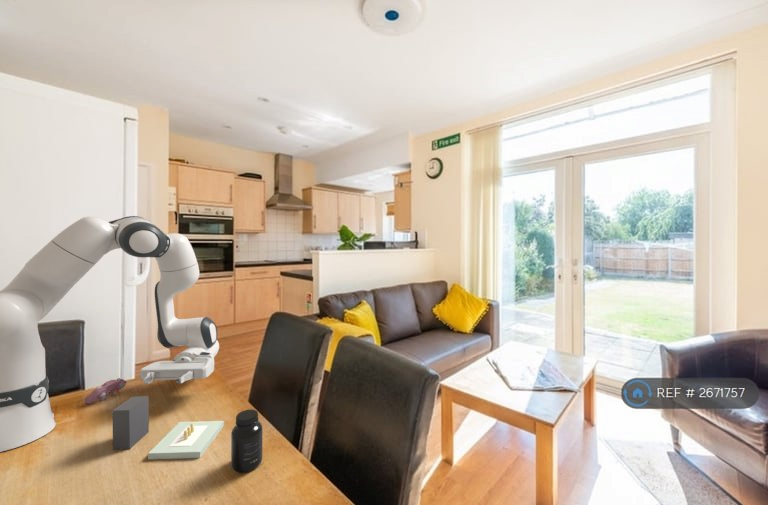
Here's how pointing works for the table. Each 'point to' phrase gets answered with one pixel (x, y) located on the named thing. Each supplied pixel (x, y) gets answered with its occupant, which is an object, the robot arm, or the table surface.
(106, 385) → the video game controller
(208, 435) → the pin board
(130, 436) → the block
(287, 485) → the table surface
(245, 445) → the supplement bottle
